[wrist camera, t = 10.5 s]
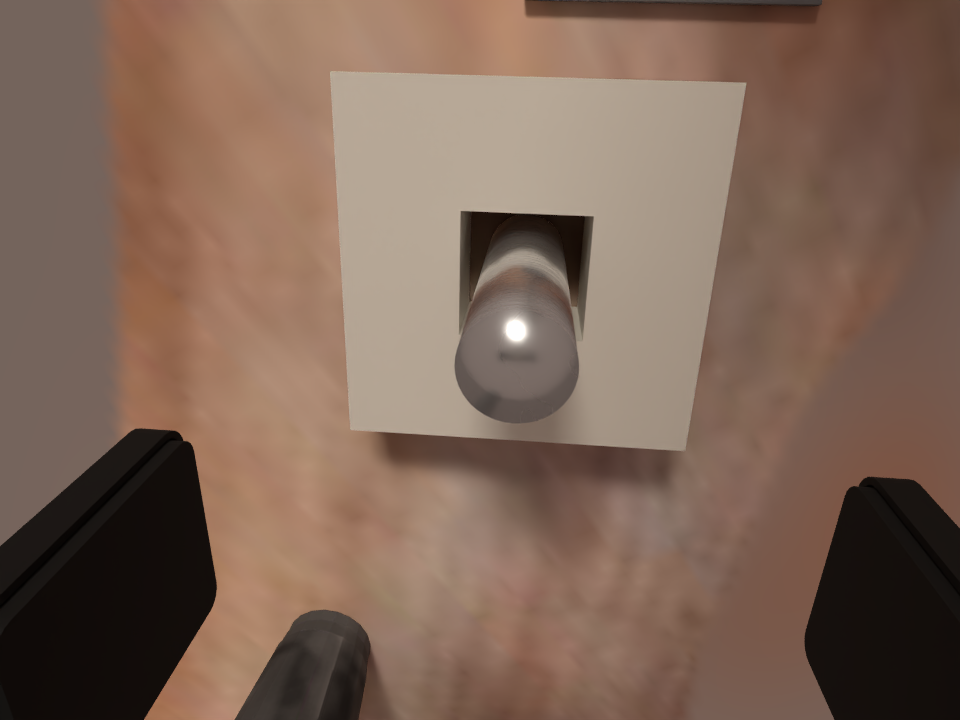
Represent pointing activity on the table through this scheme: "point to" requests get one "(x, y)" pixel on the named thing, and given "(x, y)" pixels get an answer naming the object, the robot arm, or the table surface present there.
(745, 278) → the table surface
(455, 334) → the hole block
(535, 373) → the peg
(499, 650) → the table surface
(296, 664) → the beverage cup
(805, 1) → the mat
